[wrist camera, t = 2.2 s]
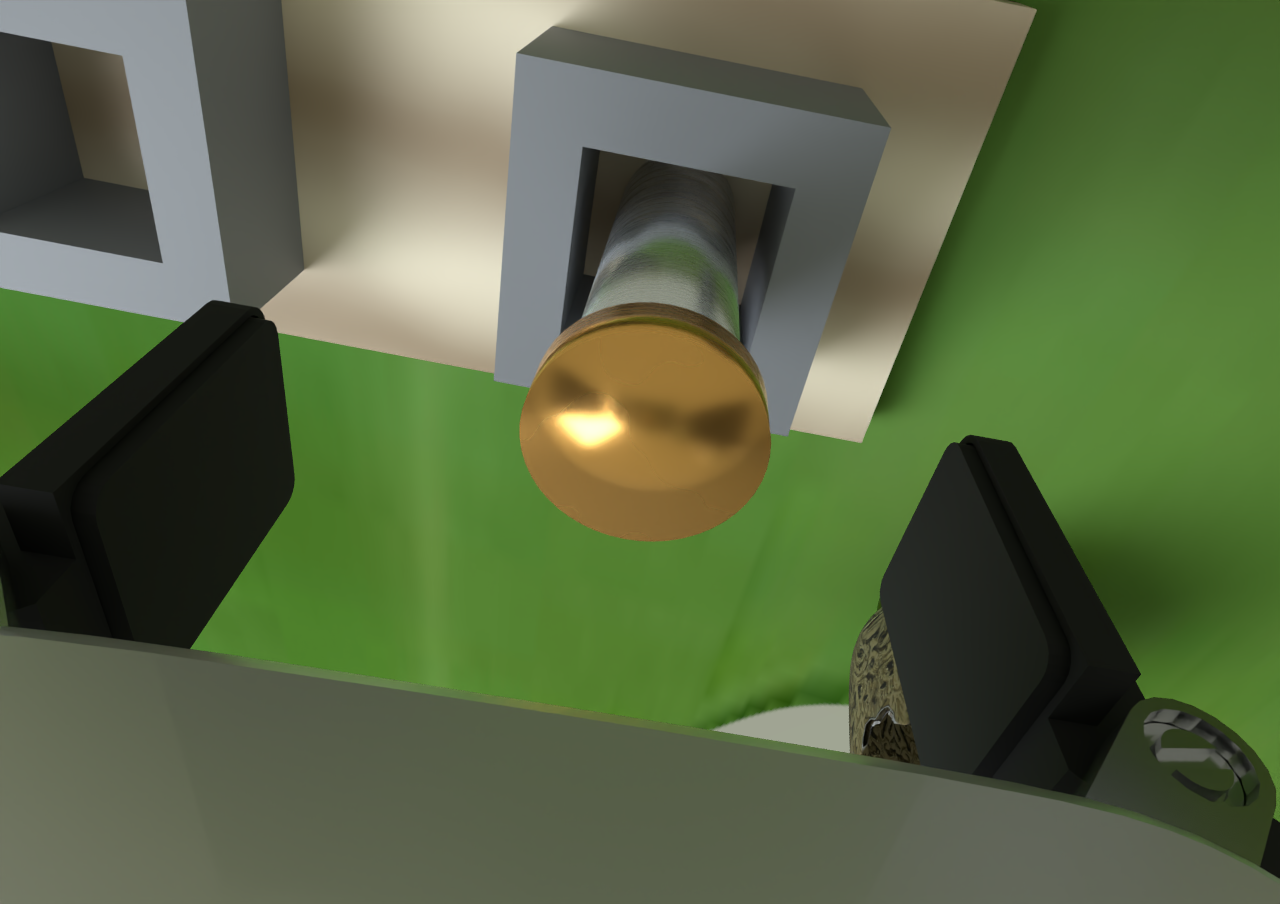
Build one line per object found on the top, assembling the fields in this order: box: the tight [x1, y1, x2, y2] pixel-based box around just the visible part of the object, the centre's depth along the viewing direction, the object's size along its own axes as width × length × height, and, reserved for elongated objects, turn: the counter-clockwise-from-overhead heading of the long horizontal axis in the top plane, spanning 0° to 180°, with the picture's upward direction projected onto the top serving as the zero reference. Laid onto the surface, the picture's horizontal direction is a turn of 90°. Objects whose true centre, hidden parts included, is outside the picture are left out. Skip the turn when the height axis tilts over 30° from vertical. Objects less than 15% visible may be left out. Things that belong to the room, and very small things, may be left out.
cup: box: [849, 599, 920, 765], centre depth 27 cm, size 8×7×8 cm
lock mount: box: [494, 26, 891, 436], centre depth 19 cm, size 8×8×4 cm
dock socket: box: [0, 0, 304, 322], centre depth 19 cm, size 8×8×4 cm
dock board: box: [51, 0, 1037, 443], centre depth 21 cm, size 12×28×2 cm, turn 80°
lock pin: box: [520, 160, 771, 541], centre depth 16 cm, size 4×4×11 cm
